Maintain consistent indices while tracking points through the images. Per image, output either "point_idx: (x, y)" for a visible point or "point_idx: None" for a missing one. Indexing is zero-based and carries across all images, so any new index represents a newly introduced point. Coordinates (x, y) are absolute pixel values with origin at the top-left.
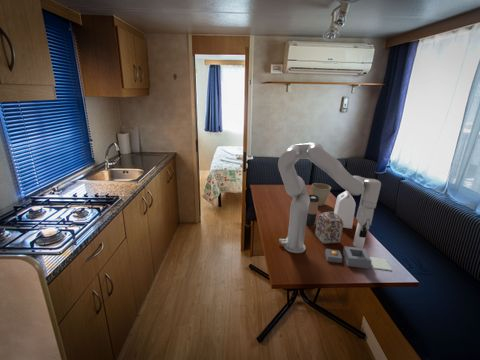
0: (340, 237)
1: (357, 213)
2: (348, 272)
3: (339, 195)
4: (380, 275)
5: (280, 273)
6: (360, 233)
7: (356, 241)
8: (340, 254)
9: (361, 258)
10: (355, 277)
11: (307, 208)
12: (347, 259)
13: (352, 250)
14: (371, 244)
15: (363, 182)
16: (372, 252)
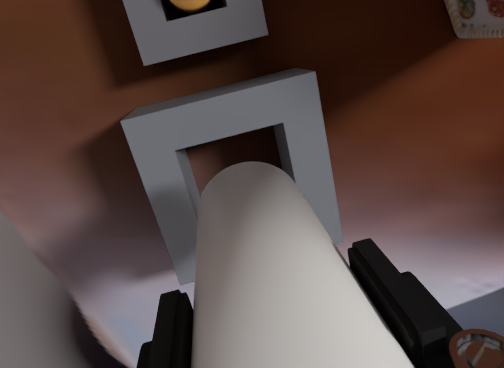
0: (491, 32)
1: None
2: (52, 119)
3: None
4: (145, 301)
5: None
6: (156, 345)
7: (204, 216)
8: (200, 45)
9: (172, 219)
10: (21, 167)
11: None
12: (151, 108)
13: (285, 147)
14: (490, 255)
15: None
16: (391, 261)
